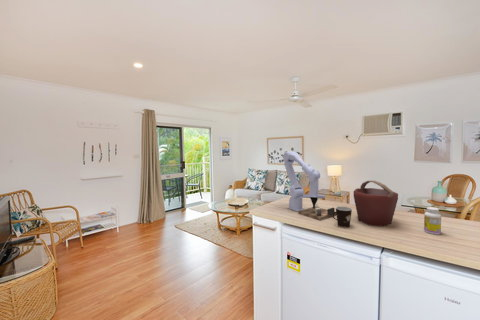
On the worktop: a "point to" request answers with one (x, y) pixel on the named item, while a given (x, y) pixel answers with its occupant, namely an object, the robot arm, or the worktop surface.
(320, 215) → the stool seat
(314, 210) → the folding leg
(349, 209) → the coffee mug
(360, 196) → the bucket
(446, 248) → the worktop surface
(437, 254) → the worktop surface
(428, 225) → the supplement bottle
